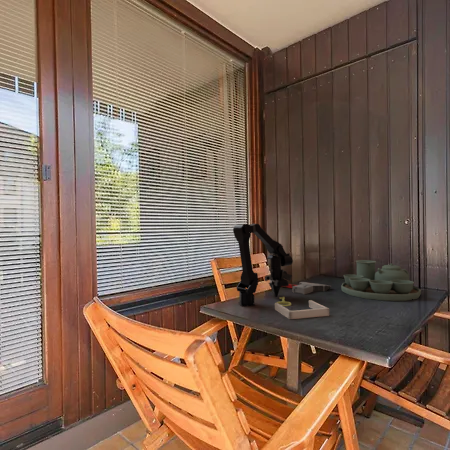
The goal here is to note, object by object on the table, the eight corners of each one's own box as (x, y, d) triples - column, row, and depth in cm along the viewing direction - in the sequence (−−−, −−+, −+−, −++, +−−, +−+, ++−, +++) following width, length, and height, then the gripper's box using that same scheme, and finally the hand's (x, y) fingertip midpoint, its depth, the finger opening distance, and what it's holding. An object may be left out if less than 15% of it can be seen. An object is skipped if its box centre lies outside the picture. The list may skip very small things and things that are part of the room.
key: (284, 300, 159) (284, 296, 159) (292, 306, 147) (292, 302, 147) (270, 301, 158) (270, 297, 158) (278, 307, 146) (278, 303, 146)
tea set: (327, 292, 176) (327, 263, 176) (364, 283, 200) (363, 258, 201) (401, 306, 145) (400, 271, 145) (433, 294, 169) (433, 264, 169)
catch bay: (289, 319, 126) (289, 311, 126) (274, 309, 141) (274, 303, 141) (329, 315, 130) (329, 308, 130) (311, 306, 145) (311, 300, 145)
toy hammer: (288, 277, 205) (331, 283, 184) (288, 283, 205) (331, 289, 184) (267, 283, 188) (311, 289, 167) (267, 289, 188) (311, 296, 167)
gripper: (297, 268, 155) (298, 299, 155) (282, 264, 173) (282, 292, 173) (277, 269, 153) (277, 301, 153) (263, 265, 171) (264, 293, 171)
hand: (276, 296), depth 162 cm, fingers closed
